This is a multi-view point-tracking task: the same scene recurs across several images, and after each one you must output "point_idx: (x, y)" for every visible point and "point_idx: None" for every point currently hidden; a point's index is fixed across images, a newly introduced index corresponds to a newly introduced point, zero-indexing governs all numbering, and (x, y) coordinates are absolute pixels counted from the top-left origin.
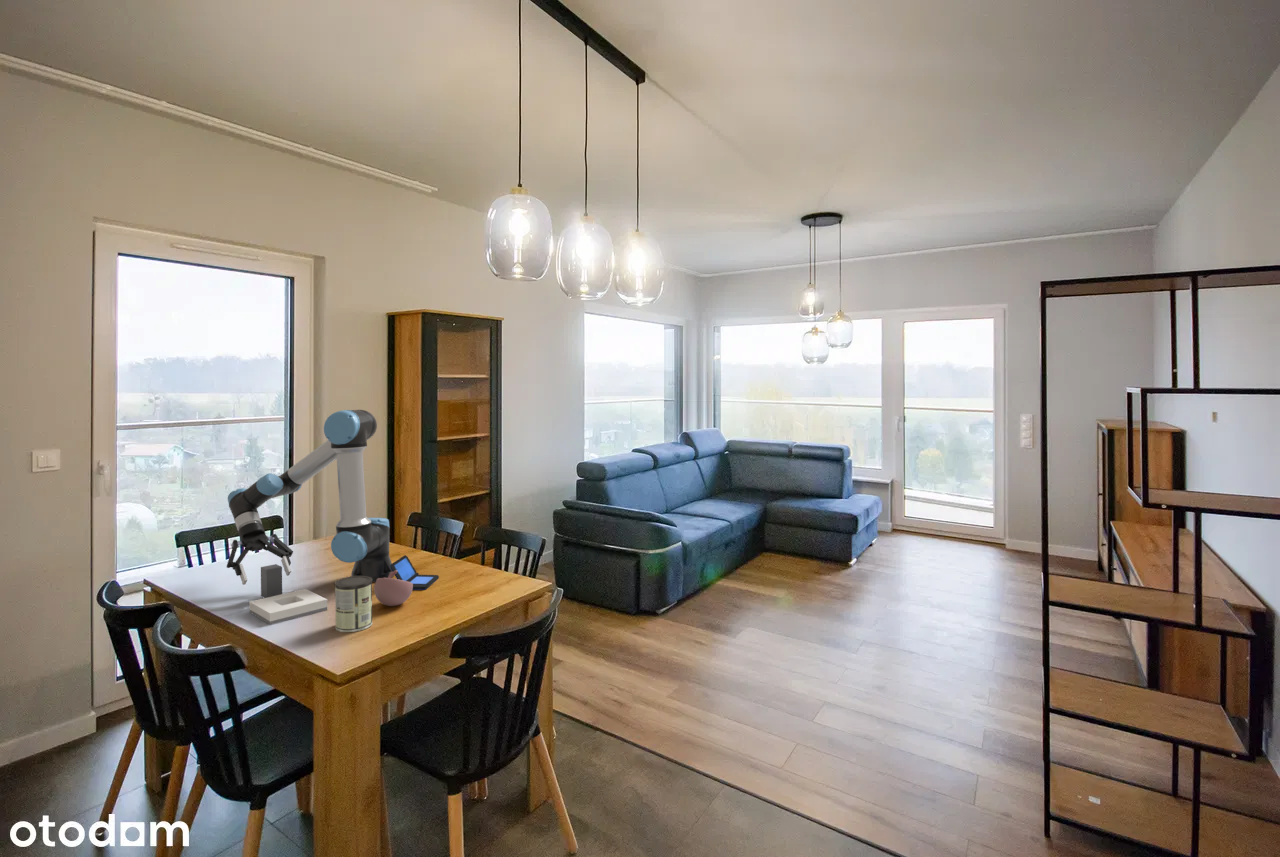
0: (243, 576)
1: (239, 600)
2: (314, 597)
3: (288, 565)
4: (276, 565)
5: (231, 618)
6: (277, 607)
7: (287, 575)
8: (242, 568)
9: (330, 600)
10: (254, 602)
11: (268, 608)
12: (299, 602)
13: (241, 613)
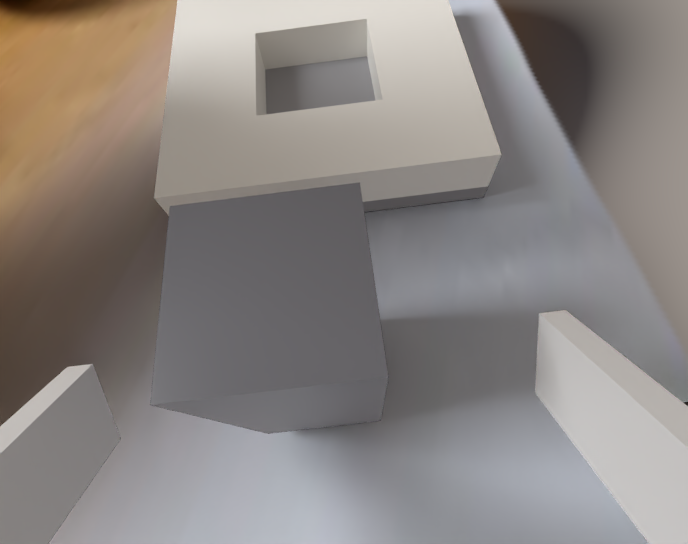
0: (601, 342)
1: (521, 502)
2: (202, 42)
3: (10, 424)
4: (183, 318)
5: (573, 163)
6: (390, 6)
7: (112, 435)
8: (685, 428)
9: (118, 142)
10: (476, 125)
11: (428, 13)
12: (287, 18)
13: (523, 206)
